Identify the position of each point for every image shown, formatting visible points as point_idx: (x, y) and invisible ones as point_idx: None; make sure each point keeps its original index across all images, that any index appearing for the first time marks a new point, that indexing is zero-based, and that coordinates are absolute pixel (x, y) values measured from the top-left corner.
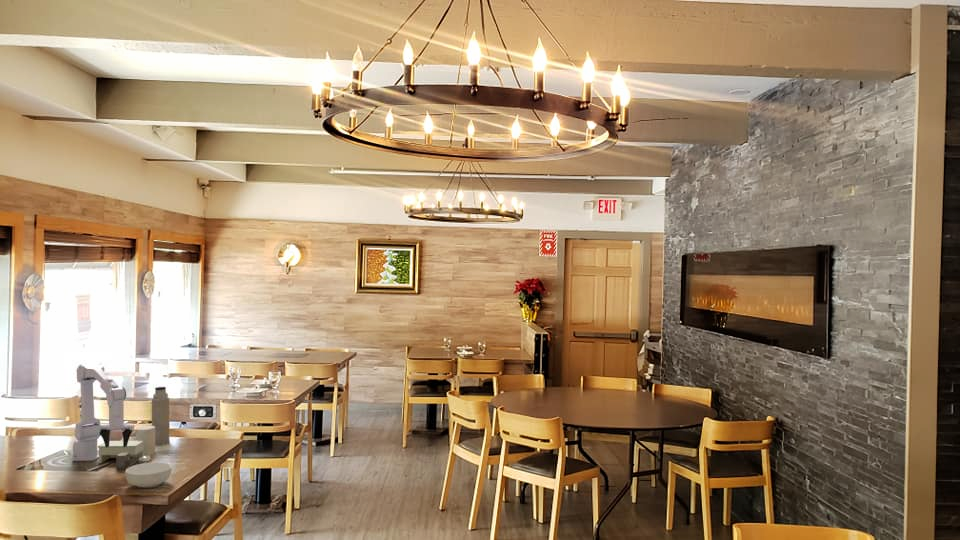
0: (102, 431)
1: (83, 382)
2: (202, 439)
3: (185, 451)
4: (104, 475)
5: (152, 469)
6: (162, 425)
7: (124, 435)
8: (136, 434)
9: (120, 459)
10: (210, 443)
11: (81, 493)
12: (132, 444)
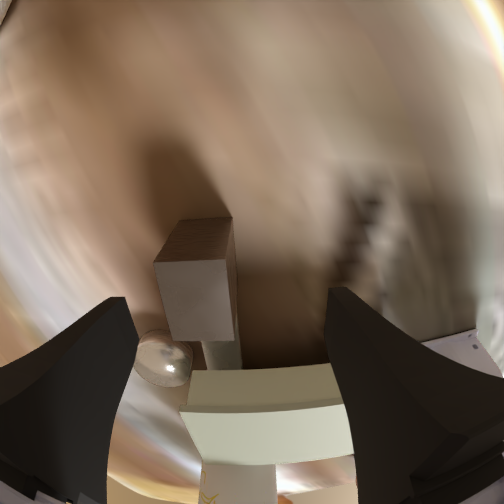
0: (479, 456)
1: None
2: (159, 479)
3: (114, 427)
4: (241, 79)
5: None
6: None
7: (10, 380)
8: (268, 492)
9: (195, 246)
10: (113, 459)
11: None
12: (223, 431)
